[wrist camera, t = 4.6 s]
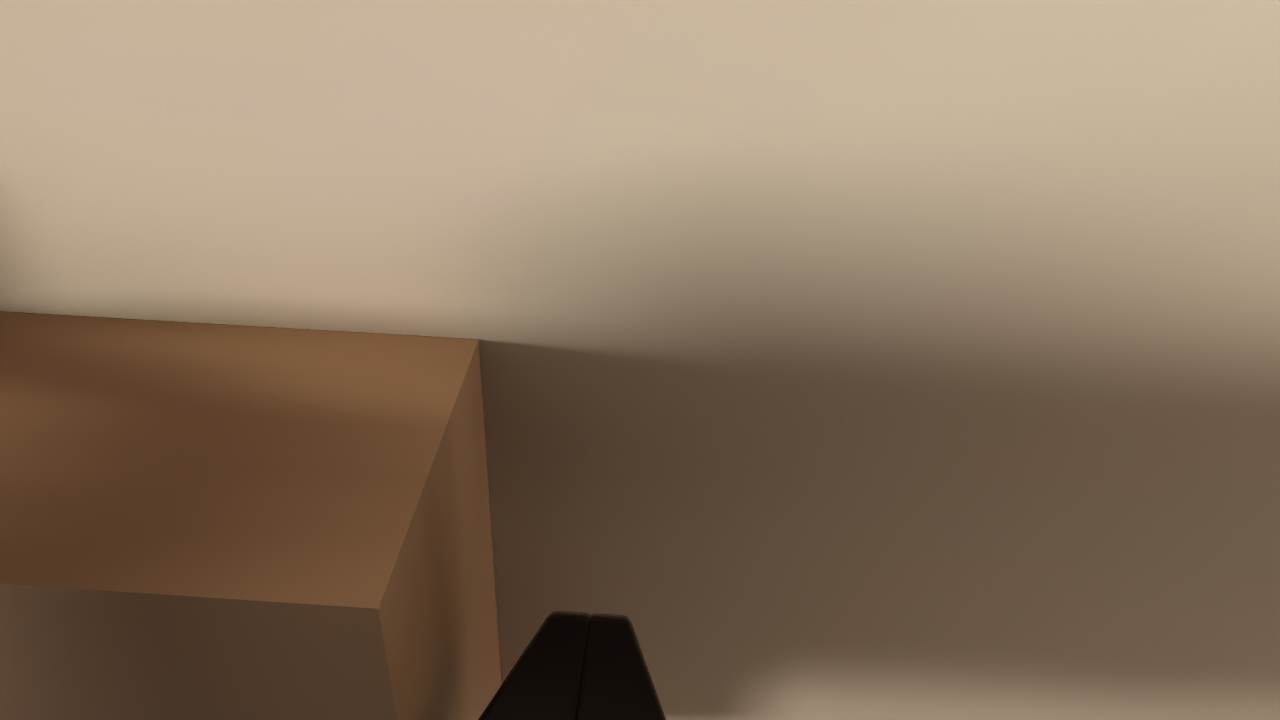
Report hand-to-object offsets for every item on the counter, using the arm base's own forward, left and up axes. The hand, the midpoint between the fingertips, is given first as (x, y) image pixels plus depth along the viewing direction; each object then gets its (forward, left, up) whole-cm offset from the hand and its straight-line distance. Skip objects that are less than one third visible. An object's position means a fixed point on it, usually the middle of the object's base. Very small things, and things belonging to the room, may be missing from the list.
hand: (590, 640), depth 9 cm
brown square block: (-4, +2, -2) cm, 5 cm away
